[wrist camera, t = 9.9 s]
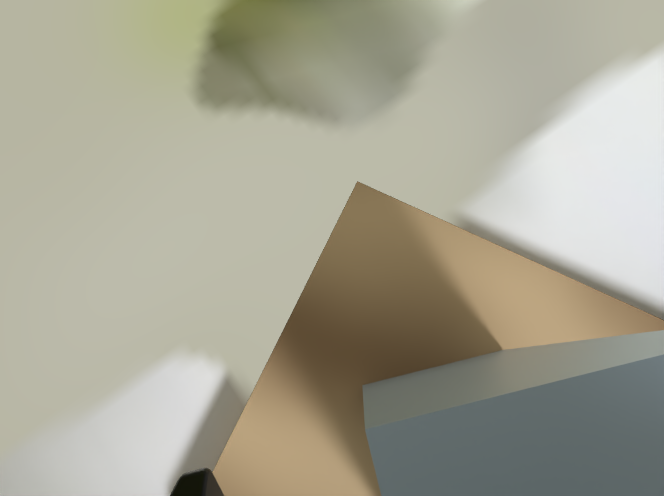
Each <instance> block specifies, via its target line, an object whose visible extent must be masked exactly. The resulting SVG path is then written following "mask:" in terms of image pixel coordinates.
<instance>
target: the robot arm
mask: <svg viewBox="0 0 664 496" xmlns="http://www.w3.org/2000/svg"><path fill="white" fill-rule="evenodd" d="M170 496H224V494H223V492H222V490H221V488H220V486H219V484H218V482H217V480H216V478H215V477H214V475H213V473H212V471H211V470H210V469H208V468H203V469H199V470H195V471H191V472H187V473H185V474H183V475H182V476H181V477H180V478H179V480H178V481H177V483H176V485H175V487H174V489H173V491H172V493H171V495H170Z"/></svg>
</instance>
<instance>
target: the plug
mask: <svg viewBox="0 0 664 496" xmlns="http://www.w3.org/2000/svg"><path fill="white" fill-rule="evenodd" d="M362 388H363V405H364V422H365V431H366V436H367V440H368V444H369V448H370V452H371V456H372V460H373V464H374V468H375V472H376V476H377V480H378V484H379V488H380V492H381V496H664V330H660V331H652V332H644V333H636V334H628V335H620V336H612V337H604V338H595V339H587V340H579V341H571V342H563V343H555V344H547V345H538V346H530V347H522V348H514V349H506V350H500V351H496V352H493V353H489V354H485V355H481V356H477V357H473V358H469V359H465V360H461V361H457V362H453V363H449V364H445V365H441V366H437V367H433V368H429V369H425V370H421V371H417V372H413V373H409V374H405V375H401V376H397V377H393V378H389V379H385V380H381V381H377V382H373V383H369V384H365V385H362Z"/></svg>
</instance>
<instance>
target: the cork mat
mask: <svg viewBox="0 0 664 496" xmlns="http://www.w3.org/2000/svg"><path fill="white" fill-rule="evenodd" d="M660 330H664V320H662V319H660V318H658V317H656V316H653V315H651V314H649V313H647V312H644V311H642V310H640V309H638V308H636V307H633V306H631V305H629V304H627V303H625V302H622V301H620V300H618V299H616V298H614V297H611V296H609V295H607V294H605V293H603V292H600V291H598V290H596V289H594V288H592V287H589V286H587V285H585V284H583V283H580V282H578V281H576V280H574V279H572V278H569V277H567V276H565V275H563V274H561V273H558V272H556V271H554V270H552V269H550V268H547V267H545V266H543V265H541V264H539V263H536V262H534V261H532V260H530V259H528V258H525V257H523V256H521V255H519V254H516V253H514V252H512V251H510V250H508V249H505V248H503V247H501V246H499V245H497V244H494V243H492V242H490V241H488V240H486V239H483V238H481V237H479V236H477V235H475V234H472V233H470V232H468V231H466V230H463V229H461V228H459V227H457V226H455V225H452V224H450V223H448V222H446V221H444V220H441V219H439V218H437V217H435V216H433V215H430V214H428V213H426V212H424V211H422V210H419V209H417V208H415V207H412V206H411V205H408V204H406V203H404V202H402V201H399V200H397V199H395V198H393V197H391V196H388V195H386V194H384V193H382V192H380V191H377V190H375V189H373V188H371V187H368V186H366V185H364V184H362V183H360V182H357V183H356V185H355V188H354V189H353V191H352V193H351V196H350V197H349V199H348V201H347V203H346V205H345V207H344V209H343V211H342V214H341V215H340V217H339V219H338V221H337V224H336V225H335V227H334V229H333V231H332V233H331V235H330V237H329V240H328V241H327V244H326V246H325V247H324V249H323V251H322V253H321V255H320V257H319V259H318V261H317V263H316V266H315V267H314V270H313V272H312V274H311V275H310V278H309V280H308V281H307V283H306V286H305V288H304V290H303V292H302V294H301V296H300V298H299V300H298V302H297V304H296V306H295V308H294V310H293V312H292V314H291V316H290V318H289V320H288V322H287V324H286V326H285V328H284V330H283V332H282V334H281V336H280V338H279V340H278V342H277V344H276V346H275V348H274V350H273V352H272V354H271V356H270V358H269V360H268V362H267V364H266V366H265V368H264V370H263V372H262V374H261V376H260V378H259V380H258V382H257V384H256V386H255V388H254V390H253V392H252V394H251V396H250V398H249V400H248V402H247V404H246V406H245V408H244V410H243V412H242V414H241V416H240V418H239V420H238V422H237V424H236V426H235V428H234V430H233V432H232V434H231V436H230V438H229V440H228V442H227V444H226V446H225V448H224V450H223V452H222V454H221V456H220V458H219V460H218V462H217V464H216V466H215V468H214V470H213V472H212V473H213V475H214V477H215V478H216V480H217V482H218V484H219V486H220V488H221V490H222V492H223V494H224V496H381V492H380V488H379V484H378V480H377V476H376V472H375V468H374V464H373V460H372V456H371V452H370V448H369V444H368V440H367V436H366V431H365V422H364V405H363V388H362V385H365V384H369V383H373V382H377V381H381V380H385V379H389V378H393V377H397V376H401V375H405V374H409V373H413V372H417V371H421V370H425V369H429V368H433V367H437V366H441V365H445V364H449V363H453V362H457V361H461V360H465V359H469V358H473V357H477V356H481V355H485V354H489V353H493V352H496V351H500V350H506V349H514V348H522V347H530V346H538V345H547V344H555V343H563V342H571V341H579V340H587V339H595V338H604V337H612V336H620V335H628V334H636V333H644V332H652V331H660Z"/></svg>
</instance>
